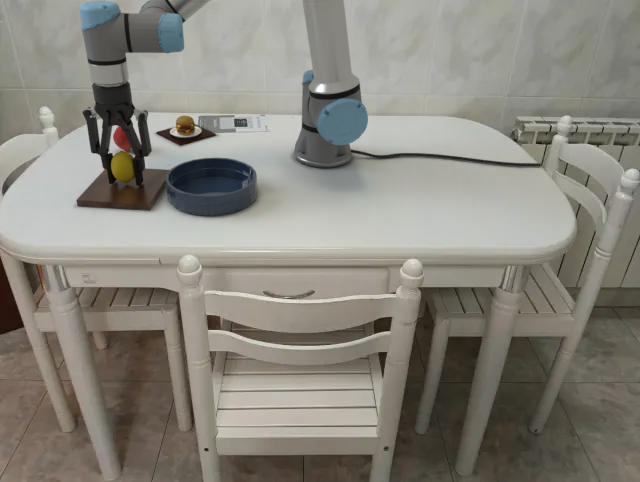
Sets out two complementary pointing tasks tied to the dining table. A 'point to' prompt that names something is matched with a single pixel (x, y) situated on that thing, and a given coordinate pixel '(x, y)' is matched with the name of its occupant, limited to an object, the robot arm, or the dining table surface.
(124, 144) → the onion
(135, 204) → the board
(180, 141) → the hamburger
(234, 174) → the bowl
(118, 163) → the lemon
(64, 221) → the dining table surface
